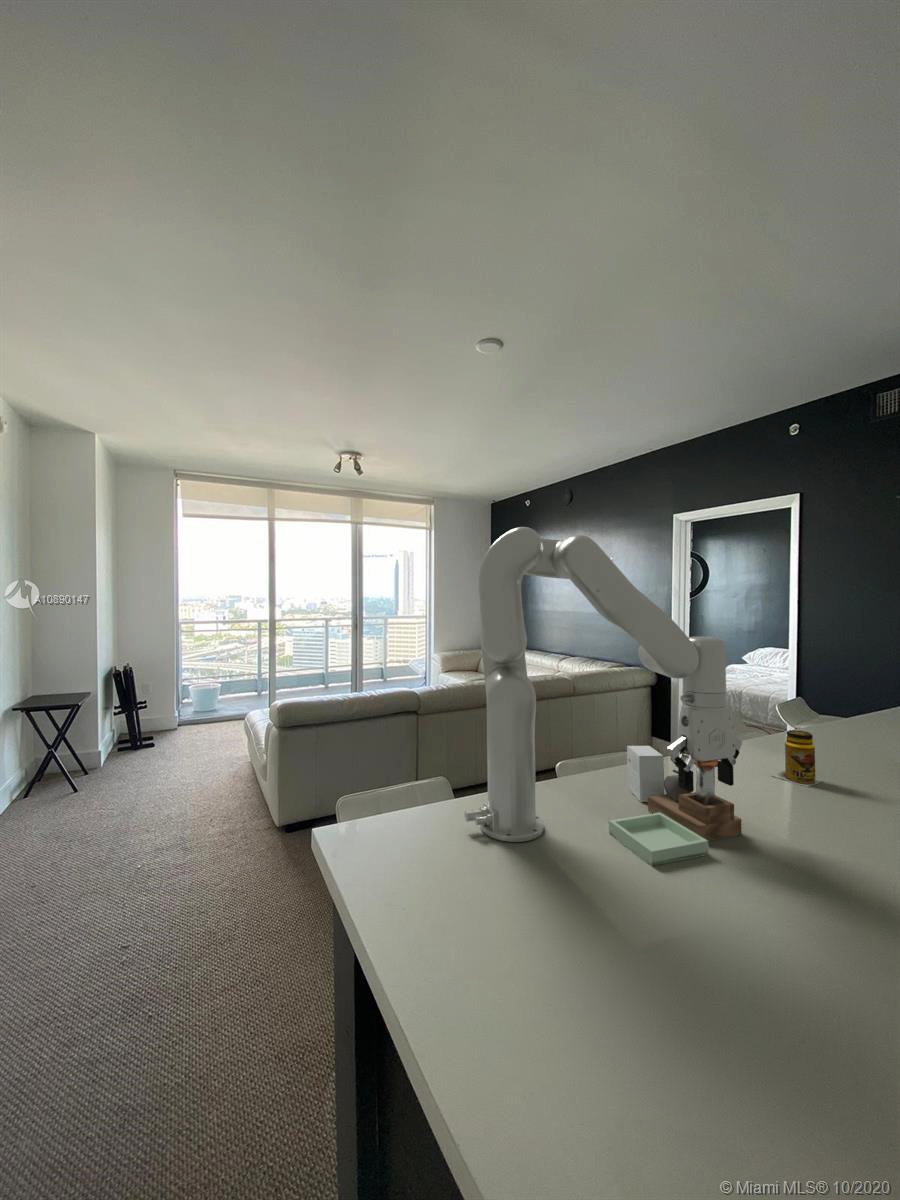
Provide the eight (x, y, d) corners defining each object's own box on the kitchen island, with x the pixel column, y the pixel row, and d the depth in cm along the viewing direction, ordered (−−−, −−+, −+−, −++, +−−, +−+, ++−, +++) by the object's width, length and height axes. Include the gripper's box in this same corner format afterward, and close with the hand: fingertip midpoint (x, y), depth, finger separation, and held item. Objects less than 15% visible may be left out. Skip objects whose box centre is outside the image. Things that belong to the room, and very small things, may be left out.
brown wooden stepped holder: (699, 842, 88) (699, 797, 88) (648, 810, 101) (647, 772, 101) (741, 834, 91) (740, 791, 91) (686, 804, 104) (685, 767, 104)
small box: (665, 802, 105) (664, 755, 105) (639, 802, 105) (639, 755, 106) (650, 788, 113) (650, 745, 113) (627, 788, 113) (626, 745, 114)
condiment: (808, 787, 113) (807, 737, 113) (770, 776, 121) (769, 729, 121) (823, 781, 117) (822, 733, 117) (786, 771, 124) (785, 725, 124)
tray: (651, 866, 80) (651, 851, 80) (609, 833, 92) (608, 820, 92) (708, 855, 83) (708, 840, 83) (660, 824, 95) (660, 812, 95)
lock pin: (705, 821, 90) (705, 762, 90) (688, 811, 94) (687, 755, 94) (724, 817, 91) (723, 760, 91) (705, 808, 95) (705, 753, 95)
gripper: (682, 706, 87) (684, 799, 87) (755, 699, 92) (757, 787, 92) (654, 699, 94) (656, 784, 94) (723, 693, 99) (724, 774, 99)
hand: (706, 786), depth 93 cm, fingers open, 9 cm apart
